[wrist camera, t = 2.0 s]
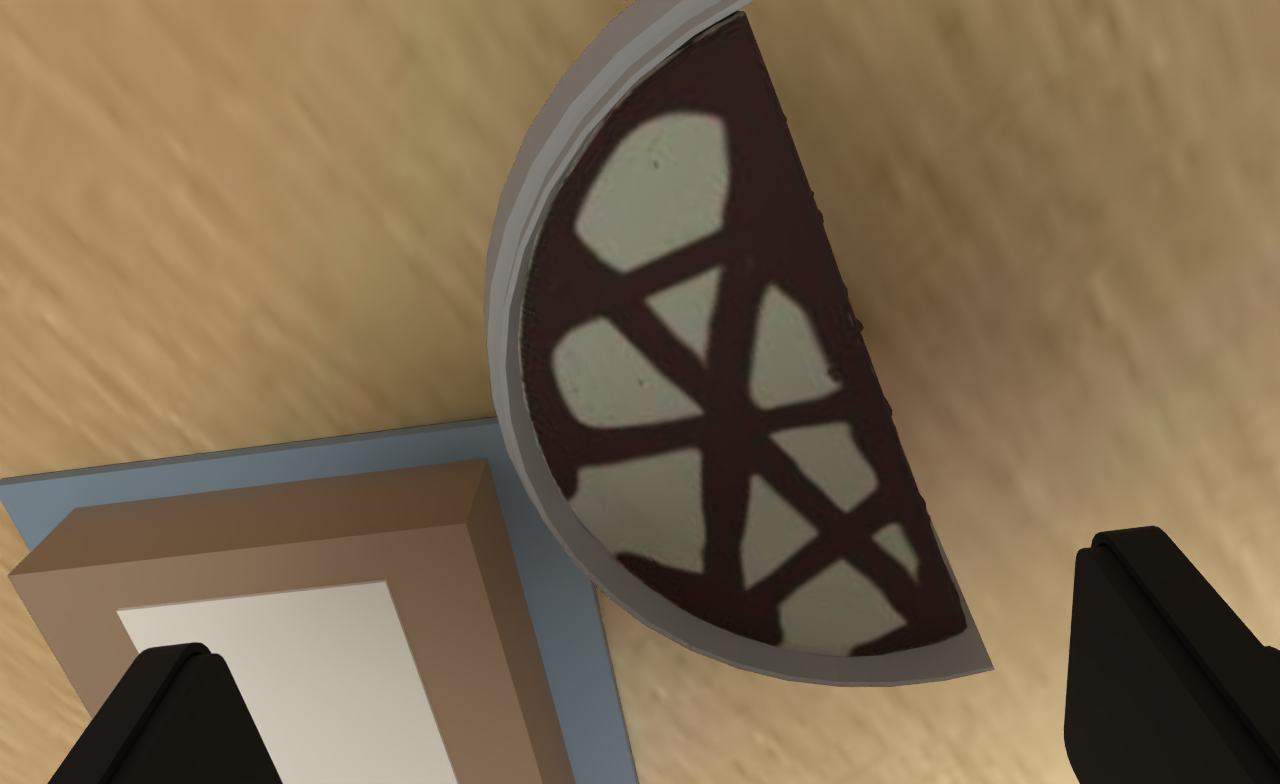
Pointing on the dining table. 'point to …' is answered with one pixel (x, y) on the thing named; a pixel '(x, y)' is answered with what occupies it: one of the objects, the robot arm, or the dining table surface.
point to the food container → (707, 371)
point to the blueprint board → (339, 603)
